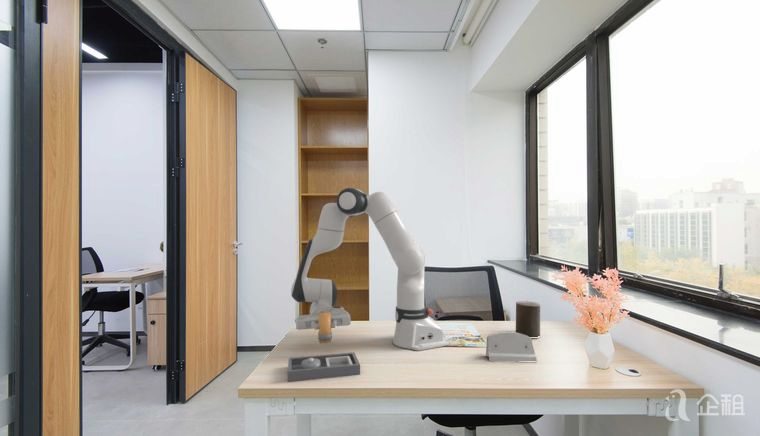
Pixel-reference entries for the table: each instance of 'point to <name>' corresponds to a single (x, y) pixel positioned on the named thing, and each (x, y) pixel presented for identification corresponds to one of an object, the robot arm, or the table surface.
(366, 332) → the table surface
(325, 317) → the wooden handle stamp
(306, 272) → the robot arm
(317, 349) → the table surface
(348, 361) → the dark grey sorting tray
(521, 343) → the hinge
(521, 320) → the pillar candle
